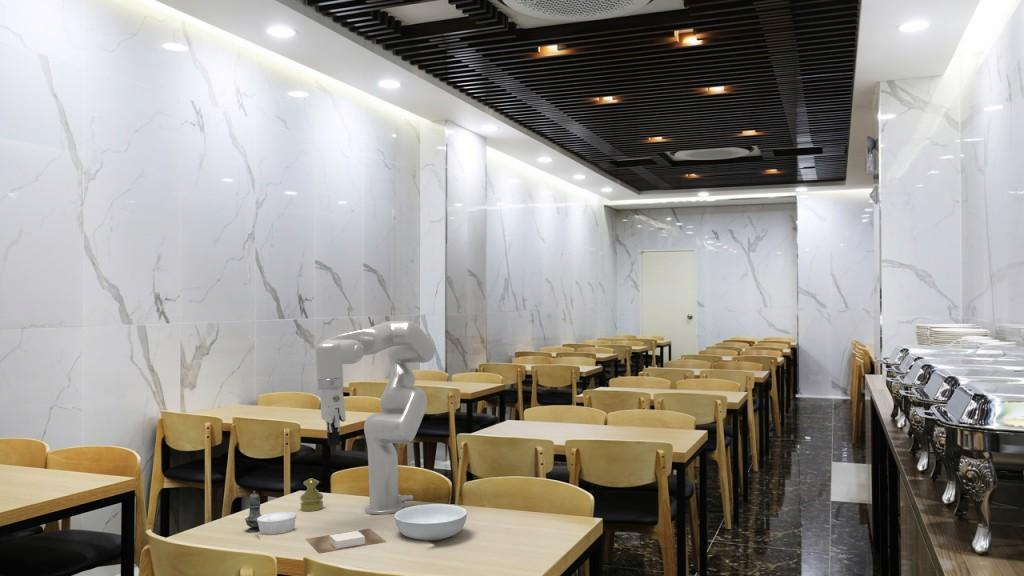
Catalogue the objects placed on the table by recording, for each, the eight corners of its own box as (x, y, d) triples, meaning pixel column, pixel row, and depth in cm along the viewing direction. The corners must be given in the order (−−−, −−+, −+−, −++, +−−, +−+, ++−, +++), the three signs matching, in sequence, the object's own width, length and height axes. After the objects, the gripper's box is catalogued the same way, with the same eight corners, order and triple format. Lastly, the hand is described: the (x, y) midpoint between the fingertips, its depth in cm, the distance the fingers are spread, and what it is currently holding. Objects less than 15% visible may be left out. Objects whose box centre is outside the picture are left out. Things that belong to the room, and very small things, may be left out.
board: (369, 532, 240) (369, 528, 240) (387, 546, 226) (386, 541, 226) (305, 543, 231) (305, 538, 231) (318, 558, 217) (318, 553, 217)
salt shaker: (259, 532, 244) (258, 492, 244) (241, 532, 245) (240, 492, 245) (268, 527, 250) (267, 488, 250) (251, 527, 251) (250, 488, 251)
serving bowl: (410, 552, 220) (409, 526, 220) (385, 533, 238) (384, 510, 238) (479, 539, 229) (478, 515, 230) (450, 522, 248) (449, 500, 248)
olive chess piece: (305, 506, 275) (304, 476, 275) (326, 506, 274) (325, 476, 274) (297, 511, 268) (296, 481, 268) (318, 511, 267) (317, 481, 267)
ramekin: (250, 535, 242) (249, 517, 242) (283, 526, 250) (283, 509, 250) (270, 541, 235) (269, 523, 235) (303, 532, 243) (303, 515, 243)
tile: (357, 530, 230) (364, 536, 224) (357, 538, 230) (365, 544, 224) (329, 535, 226) (336, 541, 220) (329, 543, 226) (336, 549, 220)
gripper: (350, 384, 238) (353, 447, 238) (335, 380, 251) (338, 439, 251) (325, 387, 234) (328, 451, 235) (311, 383, 247) (314, 442, 248)
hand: (333, 444), depth 243 cm, fingers closed
